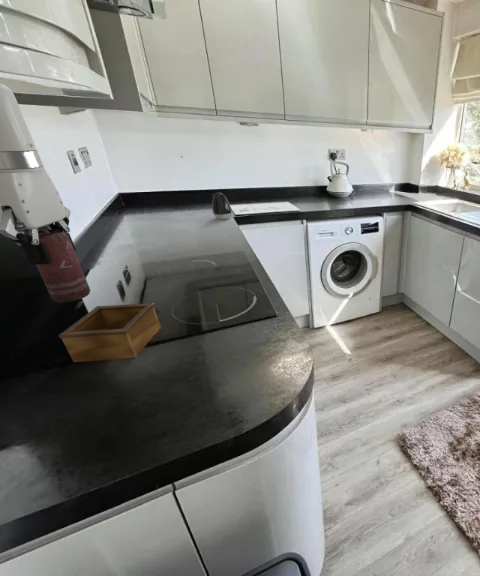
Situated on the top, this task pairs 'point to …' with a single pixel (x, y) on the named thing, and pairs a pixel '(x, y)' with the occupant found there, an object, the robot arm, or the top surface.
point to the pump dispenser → (221, 206)
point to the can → (62, 268)
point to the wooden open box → (111, 332)
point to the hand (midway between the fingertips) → (54, 256)
